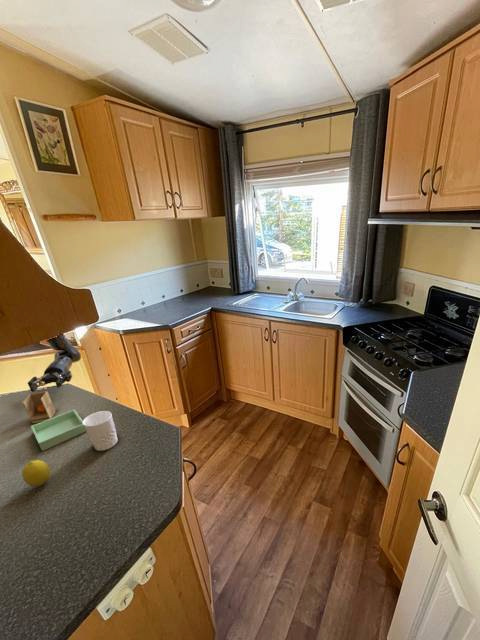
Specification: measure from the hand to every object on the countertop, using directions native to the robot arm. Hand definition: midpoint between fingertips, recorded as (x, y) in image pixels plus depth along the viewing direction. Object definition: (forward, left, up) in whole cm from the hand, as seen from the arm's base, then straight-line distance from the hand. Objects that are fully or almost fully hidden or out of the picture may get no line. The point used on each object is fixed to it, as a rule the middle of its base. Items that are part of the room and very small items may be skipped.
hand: (45, 387), depth 113 cm
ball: (-4, -7, -5) cm, 9 cm away
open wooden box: (-4, -8, -8) cm, 12 cm away
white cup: (+6, -43, -8) cm, 44 cm away
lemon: (-12, -47, -8) cm, 49 cm away
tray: (-2, -24, -8) cm, 25 cm away
